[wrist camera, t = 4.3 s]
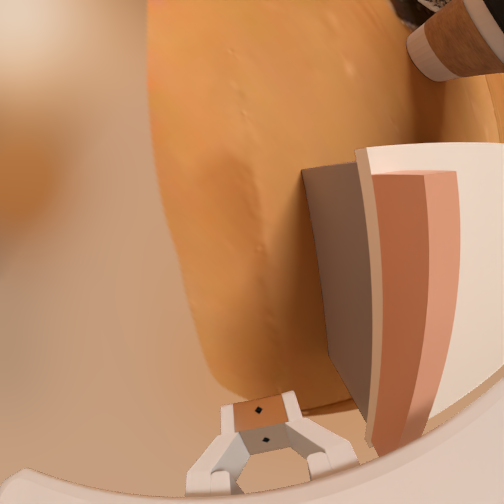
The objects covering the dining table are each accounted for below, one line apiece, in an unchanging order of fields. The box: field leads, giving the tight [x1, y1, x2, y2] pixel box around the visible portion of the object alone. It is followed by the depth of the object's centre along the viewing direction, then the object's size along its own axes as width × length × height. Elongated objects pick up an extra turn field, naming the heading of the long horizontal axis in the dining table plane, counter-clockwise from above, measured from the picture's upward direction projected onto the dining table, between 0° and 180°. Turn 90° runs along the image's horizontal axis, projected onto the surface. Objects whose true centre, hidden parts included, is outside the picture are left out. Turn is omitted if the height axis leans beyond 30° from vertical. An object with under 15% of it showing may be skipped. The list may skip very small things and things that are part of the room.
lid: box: [354, 142, 504, 457], centre depth 10 cm, size 17×18×4 cm
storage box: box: [301, 161, 372, 423], centre depth 17 cm, size 16×17×10 cm
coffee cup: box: [406, 0, 504, 82], centre depth 10 cm, size 8×8×15 cm
